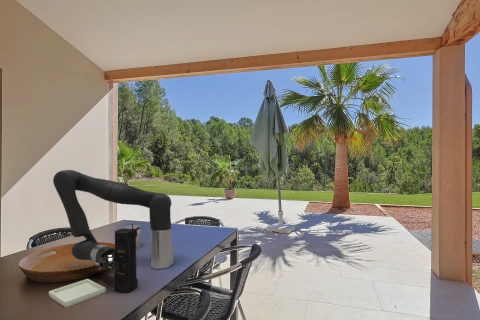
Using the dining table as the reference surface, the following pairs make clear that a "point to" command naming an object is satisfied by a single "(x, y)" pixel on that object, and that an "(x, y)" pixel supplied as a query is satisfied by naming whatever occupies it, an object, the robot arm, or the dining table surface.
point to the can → (138, 238)
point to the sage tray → (76, 292)
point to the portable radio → (125, 260)
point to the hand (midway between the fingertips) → (126, 263)
